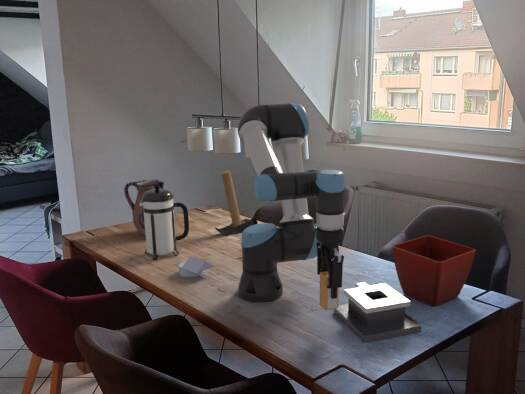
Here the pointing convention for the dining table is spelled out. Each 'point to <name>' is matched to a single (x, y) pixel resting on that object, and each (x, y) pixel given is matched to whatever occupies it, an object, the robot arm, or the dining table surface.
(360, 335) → the tabbed square frame
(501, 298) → the dining table surface
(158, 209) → the coffee press
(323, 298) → the orange rectangular block
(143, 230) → the ceramic pitcher
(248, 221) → the hammer
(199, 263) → the lavender faceted polyhedron
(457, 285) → the plant pot
